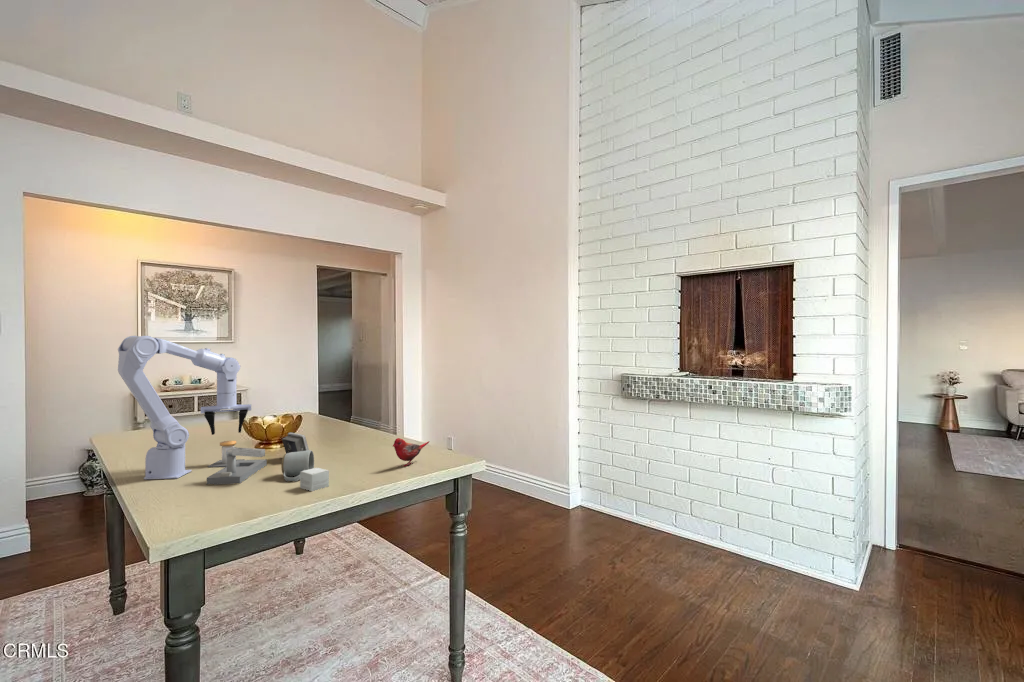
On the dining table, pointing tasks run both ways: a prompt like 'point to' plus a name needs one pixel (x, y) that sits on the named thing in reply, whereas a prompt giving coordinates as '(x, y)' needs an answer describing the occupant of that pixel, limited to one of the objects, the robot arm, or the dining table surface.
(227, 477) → the grey panel with tab
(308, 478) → the small box
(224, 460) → the mushroom
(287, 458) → the ceramic mug
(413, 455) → the decorative bird figurine
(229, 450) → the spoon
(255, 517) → the dining table surface
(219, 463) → the rubber mat
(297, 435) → the electrical switch
